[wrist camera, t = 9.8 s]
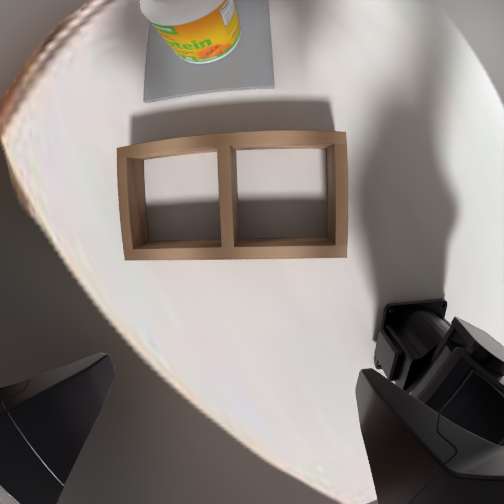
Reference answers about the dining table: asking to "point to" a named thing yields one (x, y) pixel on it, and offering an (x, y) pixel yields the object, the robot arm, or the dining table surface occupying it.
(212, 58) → the supplement bottle
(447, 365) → the robot arm
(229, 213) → the brown two-compartment frame
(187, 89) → the coaster
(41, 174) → the dining table surface
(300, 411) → the dining table surface
